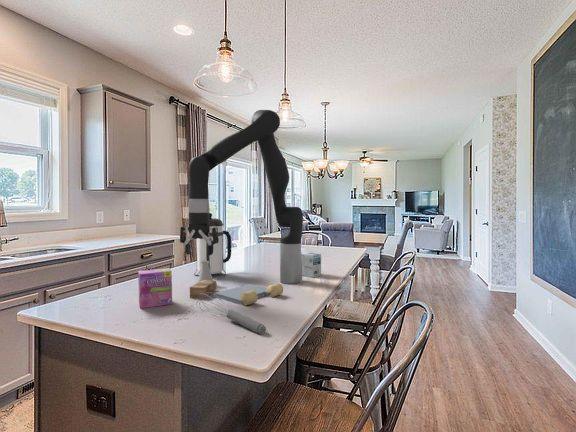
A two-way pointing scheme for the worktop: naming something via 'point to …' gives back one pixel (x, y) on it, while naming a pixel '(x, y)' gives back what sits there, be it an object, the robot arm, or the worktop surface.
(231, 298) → the grey flat piece
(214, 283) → the tan wooden beam
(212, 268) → the coffee press
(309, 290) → the worktop surface
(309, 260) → the light bulb box
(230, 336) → the worktop surface
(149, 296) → the box
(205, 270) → the flask
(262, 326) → the kitchen whisk
